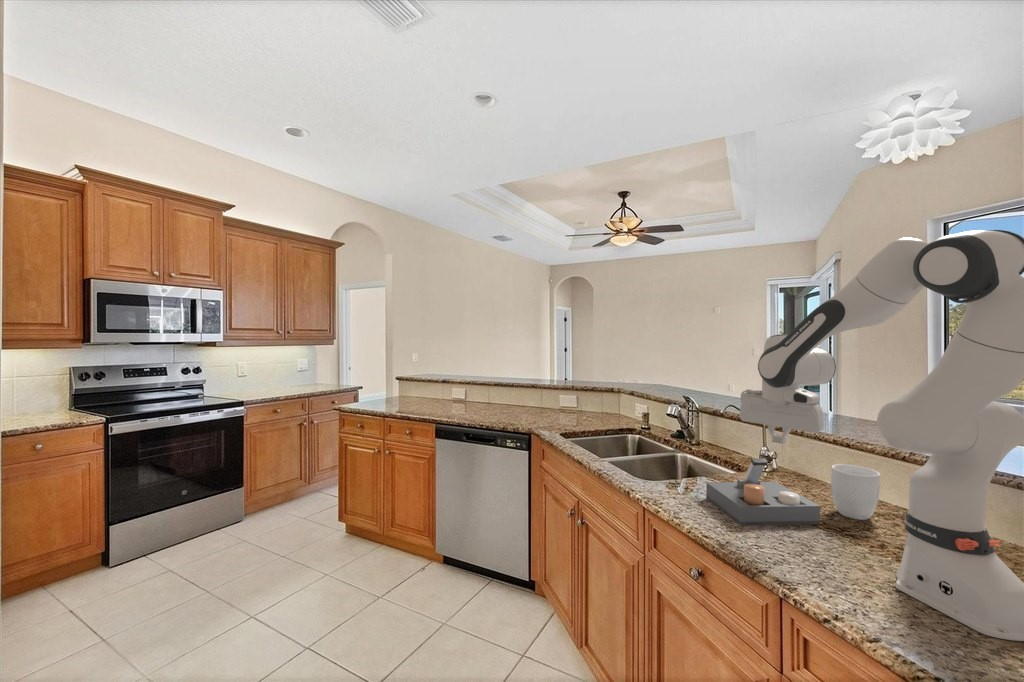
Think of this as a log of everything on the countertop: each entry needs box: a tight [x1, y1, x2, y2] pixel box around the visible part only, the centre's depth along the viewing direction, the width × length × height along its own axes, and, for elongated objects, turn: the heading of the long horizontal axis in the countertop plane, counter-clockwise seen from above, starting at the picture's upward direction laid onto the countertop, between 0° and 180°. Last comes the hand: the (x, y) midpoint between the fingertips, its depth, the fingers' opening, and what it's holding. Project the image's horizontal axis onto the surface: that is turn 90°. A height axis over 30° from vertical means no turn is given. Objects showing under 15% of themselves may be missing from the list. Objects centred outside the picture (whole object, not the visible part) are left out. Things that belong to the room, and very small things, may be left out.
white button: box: [778, 491, 800, 505], centre depth 124 cm, size 5×5×5 cm
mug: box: [830, 463, 881, 521], centre depth 128 cm, size 15×11×13 cm
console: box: [705, 478, 821, 526], centre depth 130 cm, size 19×22×7 cm
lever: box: [742, 457, 769, 486], centre depth 132 cm, size 2×4×11 cm
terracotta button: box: [744, 484, 765, 505], centre depth 124 cm, size 5×5×5 cm
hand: (778, 442), depth 124 cm, fingers closed
